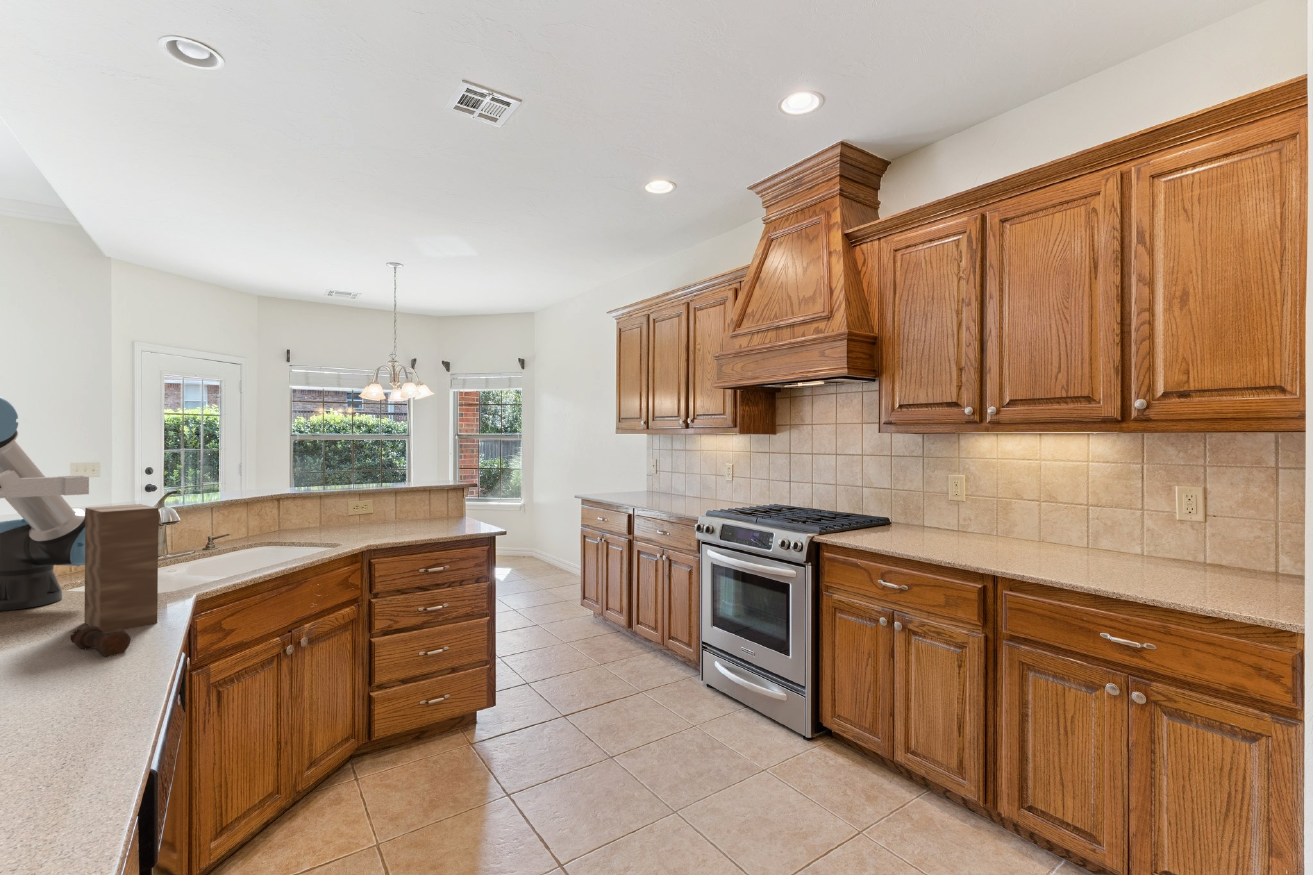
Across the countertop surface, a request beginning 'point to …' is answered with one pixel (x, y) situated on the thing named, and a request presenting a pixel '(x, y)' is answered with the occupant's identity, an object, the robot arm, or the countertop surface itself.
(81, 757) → the countertop surface
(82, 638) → the bolt
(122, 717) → the countertop surface
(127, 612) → the wooden block
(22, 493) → the steel block
